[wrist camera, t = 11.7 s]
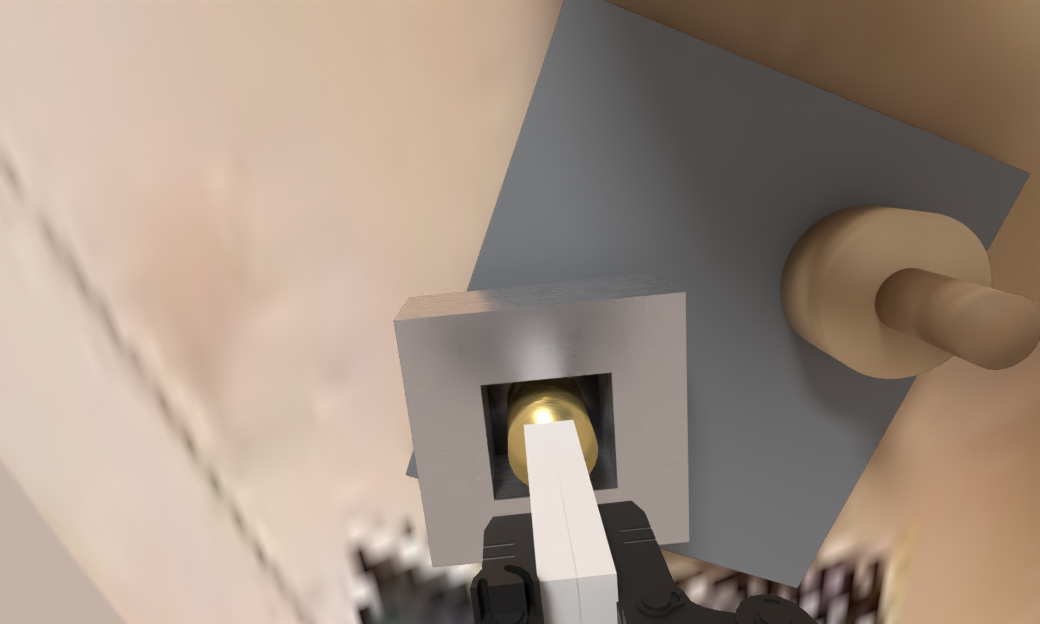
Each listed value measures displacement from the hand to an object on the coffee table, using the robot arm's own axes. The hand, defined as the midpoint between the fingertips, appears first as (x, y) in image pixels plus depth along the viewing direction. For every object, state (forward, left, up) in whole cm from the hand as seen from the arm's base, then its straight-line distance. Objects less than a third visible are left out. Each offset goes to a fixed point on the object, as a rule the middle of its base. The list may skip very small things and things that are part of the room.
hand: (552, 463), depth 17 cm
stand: (-8, +11, -7) cm, 15 cm away
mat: (-4, +6, -8) cm, 10 cm away
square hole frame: (0, 0, -4) cm, 4 cm away
